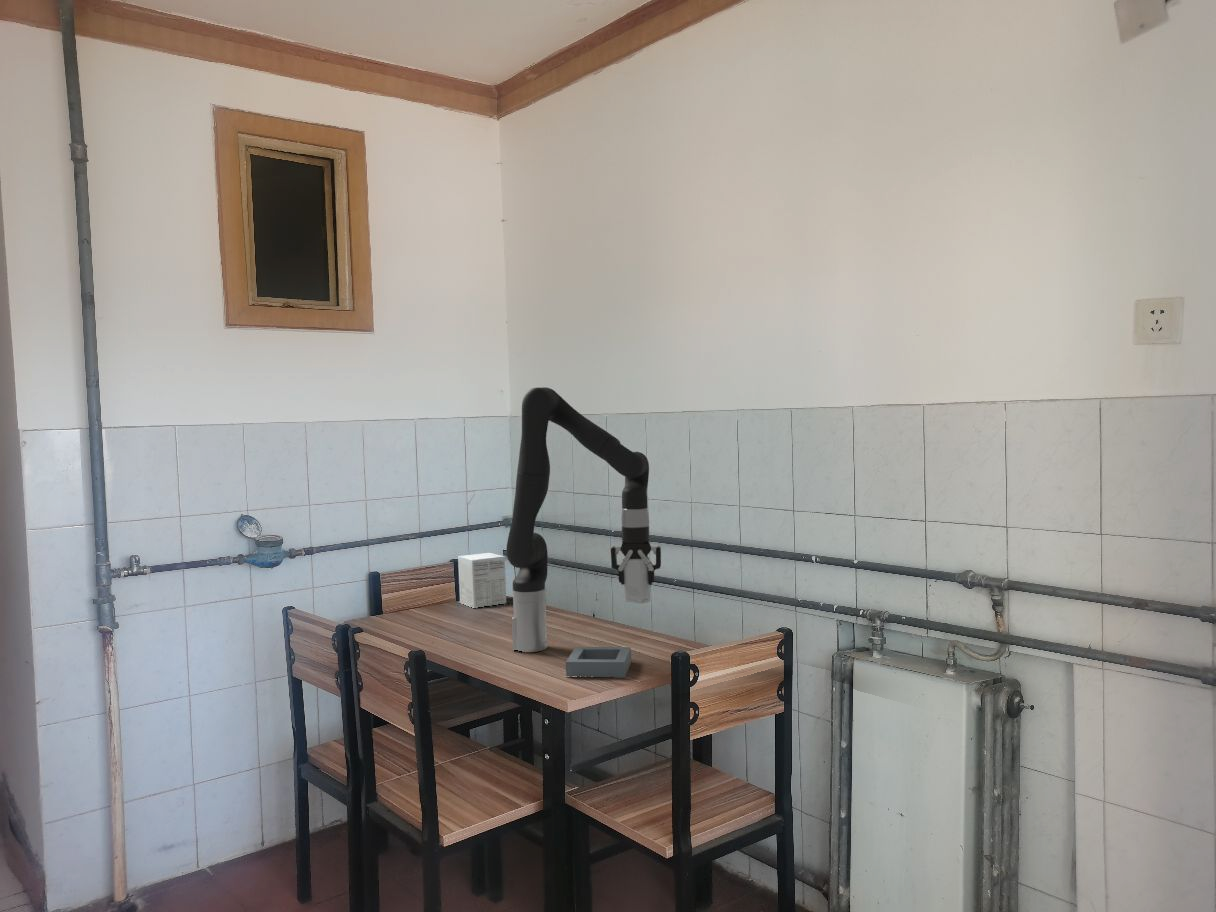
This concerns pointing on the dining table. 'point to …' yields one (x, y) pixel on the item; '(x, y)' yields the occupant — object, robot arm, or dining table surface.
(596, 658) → the socket block
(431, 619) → the dining table surface
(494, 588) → the supplement box
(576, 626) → the dining table surface
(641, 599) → the skincare box
